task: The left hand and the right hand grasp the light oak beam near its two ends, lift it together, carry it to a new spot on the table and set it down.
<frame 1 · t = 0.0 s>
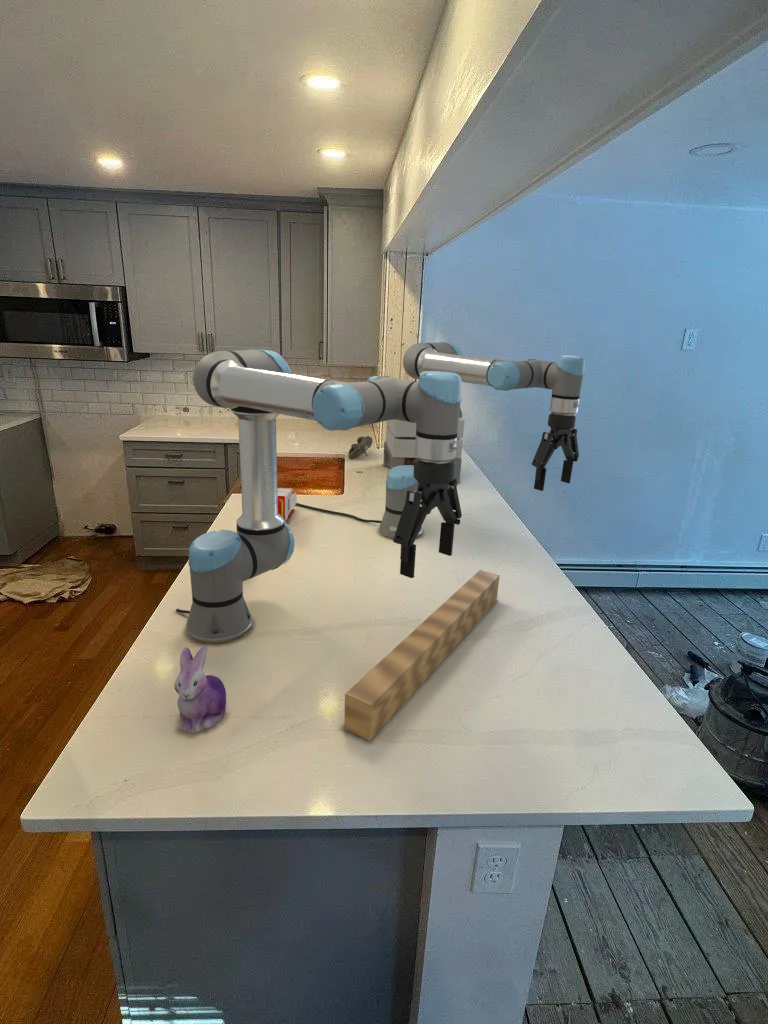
left hand: (426, 564, 111), 28 cm above the counter, tool pointing down, fingers open, 13 cm apart
right hand: (552, 485, 166), 28 cm above the counter, tool pointing down, fingers open, 13 cm apart
figurine: (203, 718, 108), on the counter
beam: (434, 652, 132), on the counter
feather: (430, 496, 241), on the counter
toy: (277, 521, 207), on the counter
fossil: (360, 455, 303), on the counter
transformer: (419, 473, 275), on the counter
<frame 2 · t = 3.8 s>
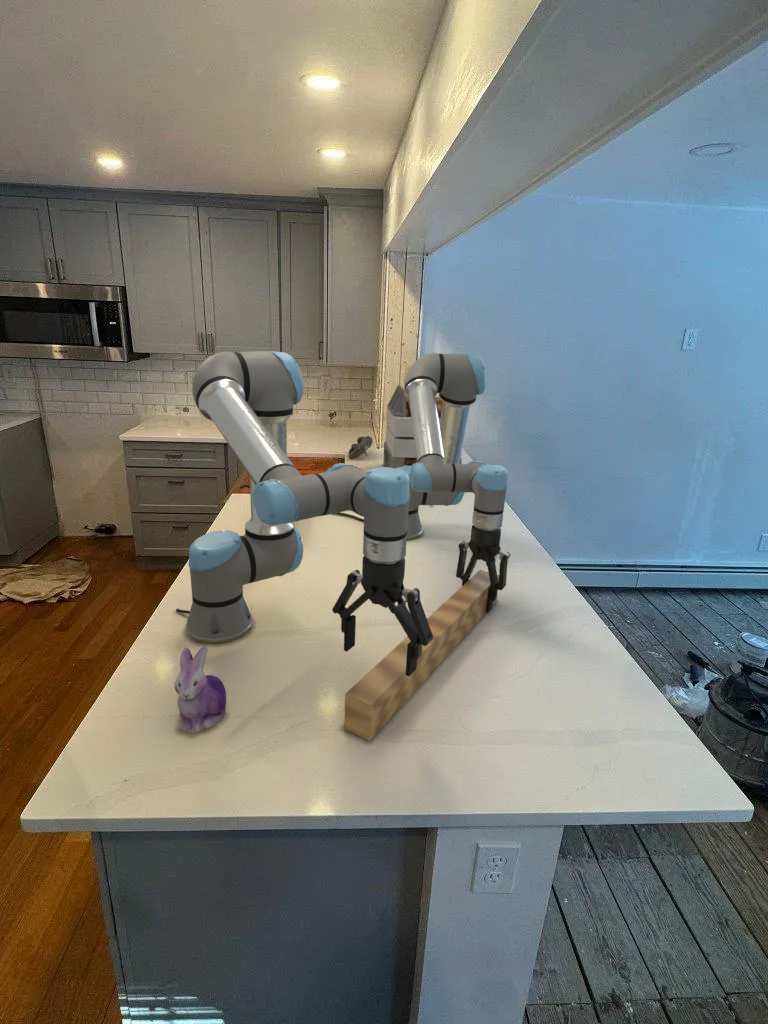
left hand: (379, 659, 106), 13 cm above the counter, tool pointing down, fingers open, 13 cm apart
right hand: (477, 606, 152), 1 cm above the counter, tool pointing down, fingers closed on beam, 6 cm apart
beam: (434, 652, 132), on the counter, touching right hand
everything else where it was.
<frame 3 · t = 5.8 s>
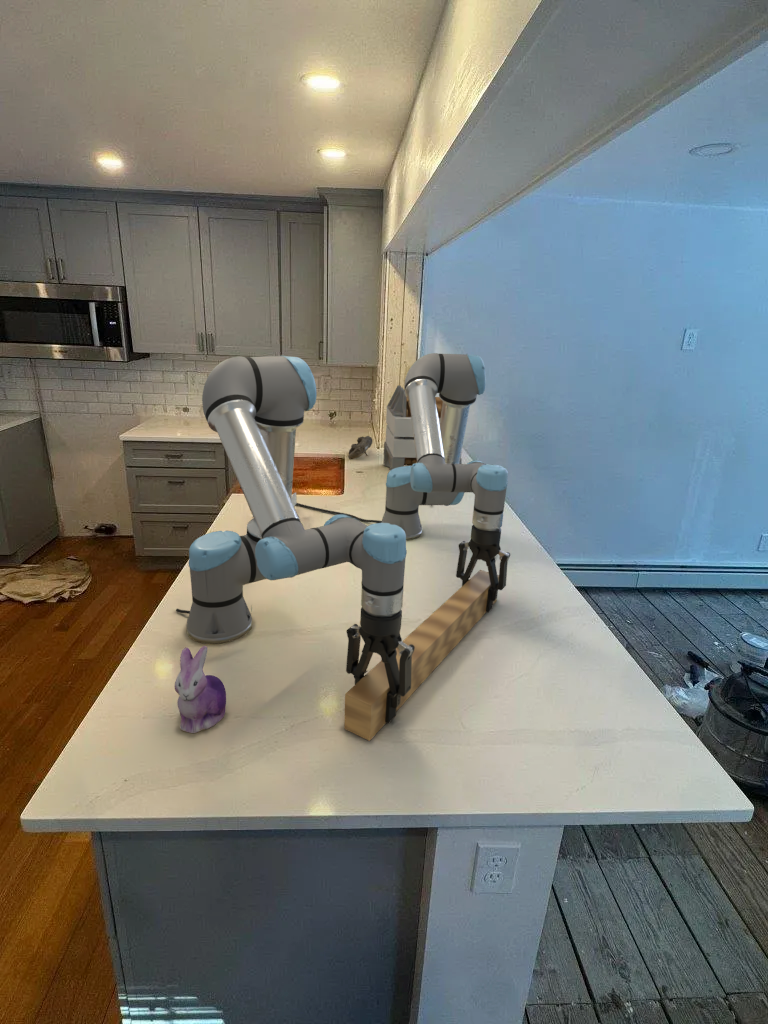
left hand: (376, 712, 111), 1 cm above the counter, tool pointing down, fingers closed on beam, 6 cm apart
right hand: (477, 606, 152), 1 cm above the counter, tool pointing down, fingers closed on beam, 6 cm apart
beam: (434, 652, 132), on the counter, touching right hand, left hand
everything else where it was.
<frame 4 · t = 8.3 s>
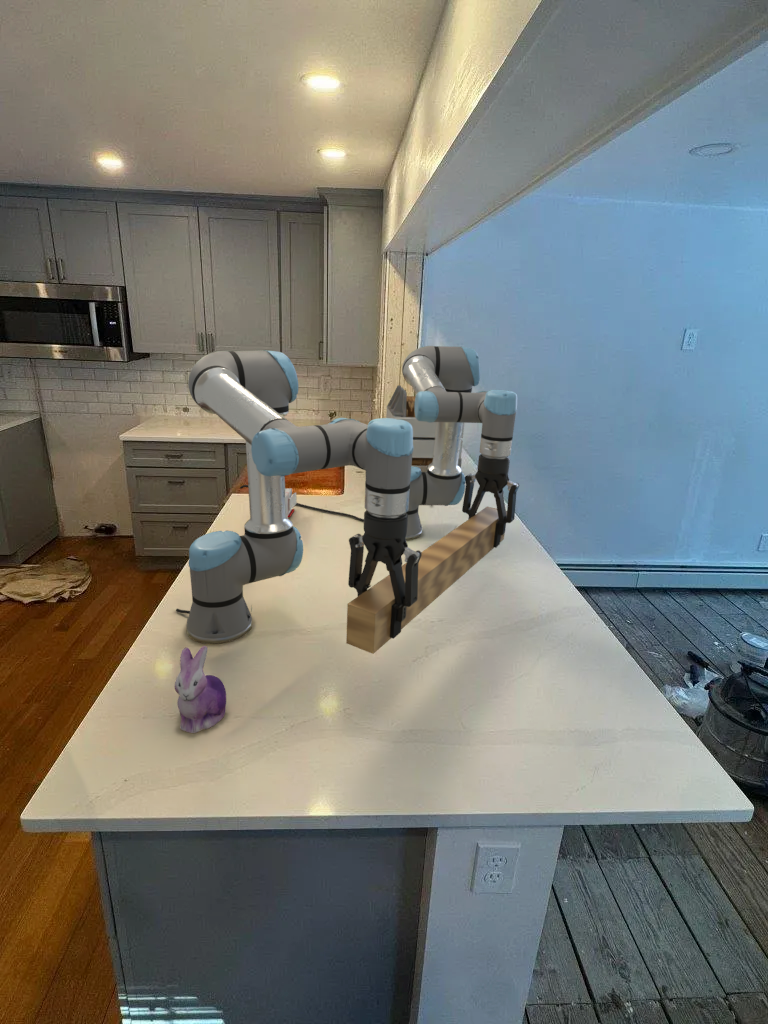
left hand: (380, 628, 104), 19 cm above the counter, tool pointing down, fingers closed on beam, 6 cm apart
right hand: (484, 542, 146), 19 cm above the counter, tool pointing down, fingers closed on beam, 6 cm apart
beam: (440, 580, 125), point 19 cm above the counter, touching right hand, left hand
everything else where it was.
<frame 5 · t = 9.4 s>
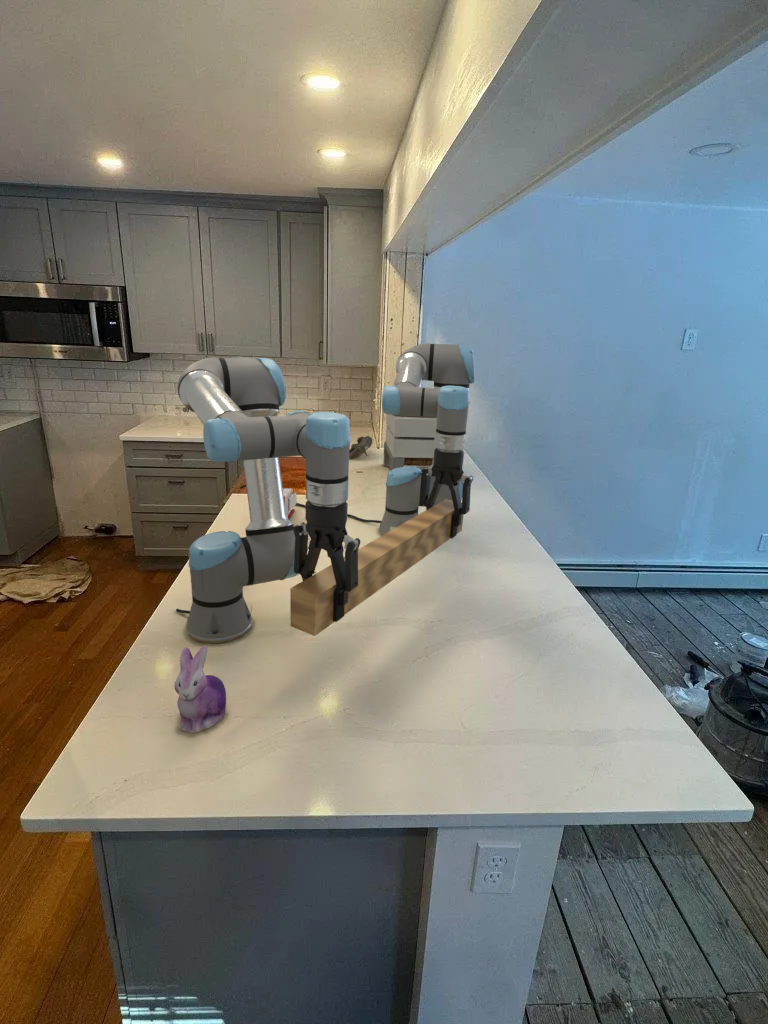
left hand: (324, 613, 110), 19 cm above the counter, tool pointing down, fingers closed on beam, 6 cm apart
right hand: (441, 533, 151), 19 cm above the counter, tool pointing down, fingers closed on beam, 6 cm apart
beam: (392, 569, 130), point 18 cm above the counter, touching right hand, left hand
everything else where it was.
when the left hand's fingers open (2 cm above the counter, at t = 13.0 s): beam drops 1 cm, on the counter.
when the right hand's fingers open (2 cm above the counter, at t = 13.0 s): beam drops 1 cm, on the counter.
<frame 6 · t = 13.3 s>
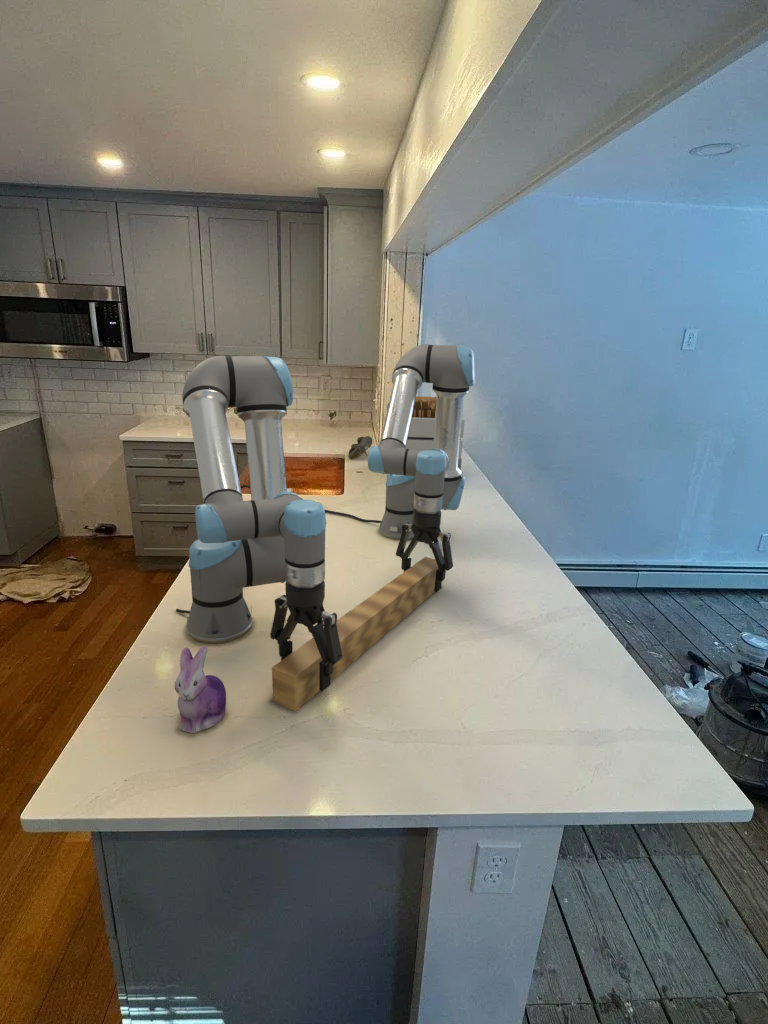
left hand: (305, 678, 116), 2 cm above the counter, tool pointing down, fingers open, 9 cm apart
right hand: (421, 585, 158), 2 cm above the counter, tool pointing down, fingers open, 9 cm apart
beam: (372, 633, 138), on the counter
everything else where it was.
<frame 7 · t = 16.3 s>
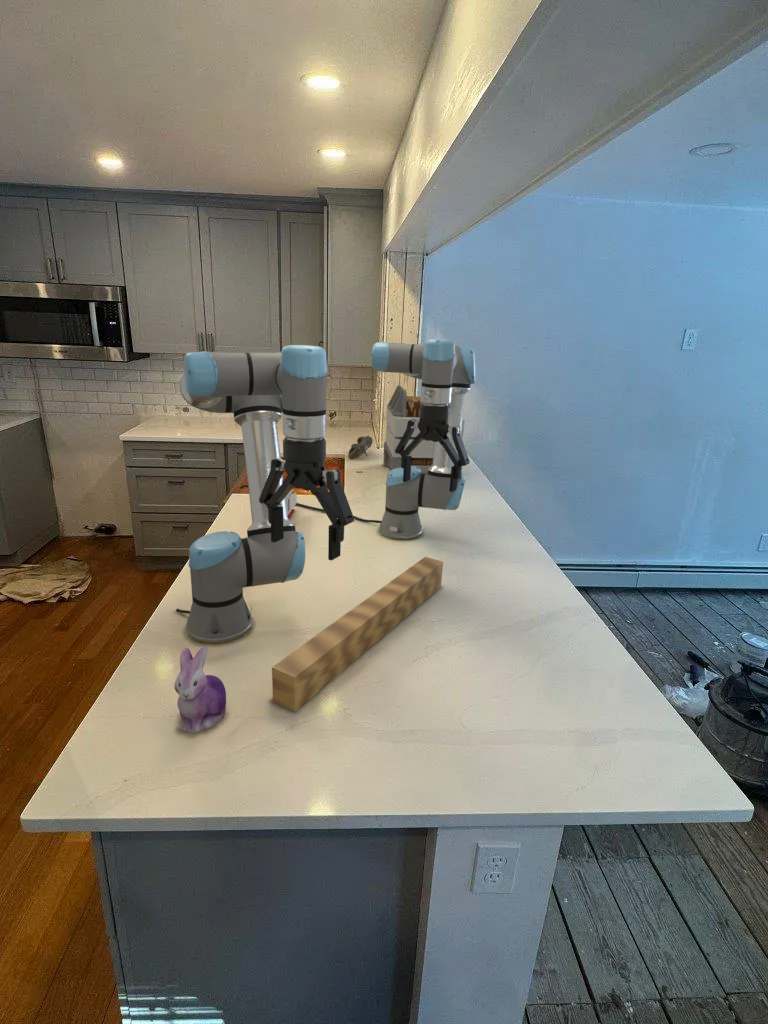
left hand: (305, 548, 106), 32 cm above the counter, tool pointing down, fingers open, 13 cm apart
right hand: (429, 485, 148), 32 cm above the counter, tool pointing down, fingers open, 13 cm apart
nothing on the counter moved.
at the end: beam inside the target area (0.1 cm from its centre), on the counter; beam tilted 0°; beam never tilted more than 1° during the clip; both hands held the beam at the same time; the left hand is holding nothing; the right hand is holding nothing; beam at rest at the end (0.0 cm/s) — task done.
